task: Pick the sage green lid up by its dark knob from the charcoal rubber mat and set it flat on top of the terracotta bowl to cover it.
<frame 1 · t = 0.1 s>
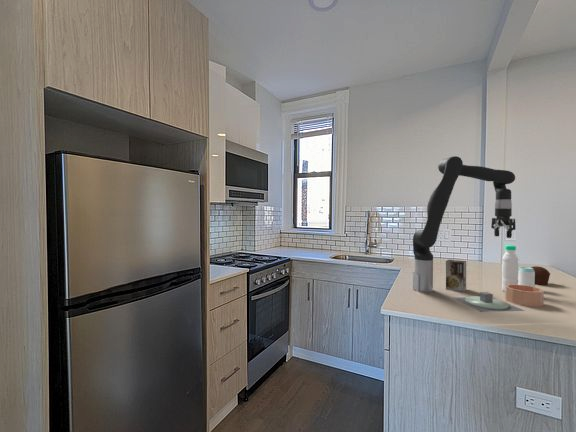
hand: (502, 237, 164), 29 cm above the worktop, tool pointing down, fingers open, 8 cm apart
mat: (486, 304, 138), on the worktop
water bottle: (509, 291, 160), on the worktop
bowl: (523, 302, 141), on the worktop
muffin: (537, 283, 178), on the worktop
lid: (486, 303, 138), resting on mat
coffee box: (455, 290, 164), on the worktop
can: (526, 289, 165), on the worktop
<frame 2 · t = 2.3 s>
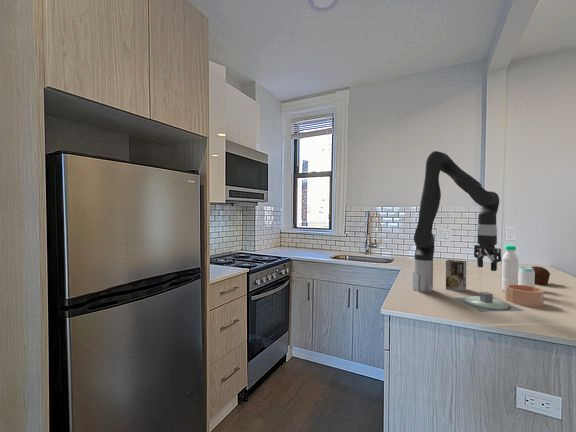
hand: (486, 268, 138), 17 cm above the worktop, tool pointing down, fingers open, 8 cm apart
nothing on the worktop moved.
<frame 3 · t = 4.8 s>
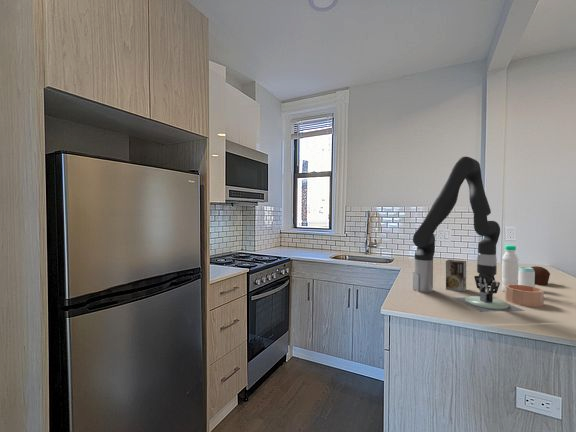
hand: (486, 300, 138), 2 cm above the worktop, tool pointing down, fingers closed on lid, 3 cm apart
lid: (486, 303, 138), resting on mat, touching gripper
everything else where it was.
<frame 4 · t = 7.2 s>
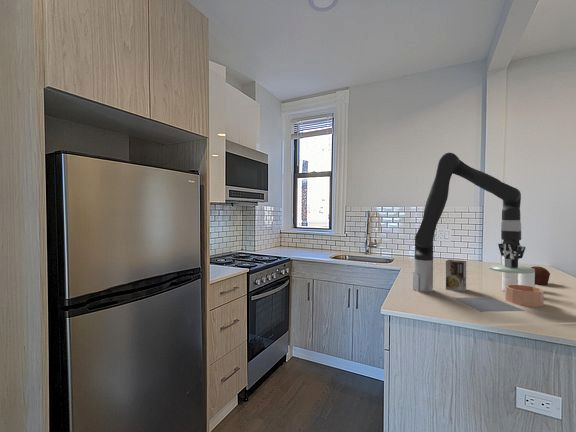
hand: (511, 266, 139), 18 cm above the worktop, tool pointing down, fingers closed on lid, 3 cm apart
lid: (511, 269, 139), point 16 cm above the worktop, touching gripper
everything else where it was.
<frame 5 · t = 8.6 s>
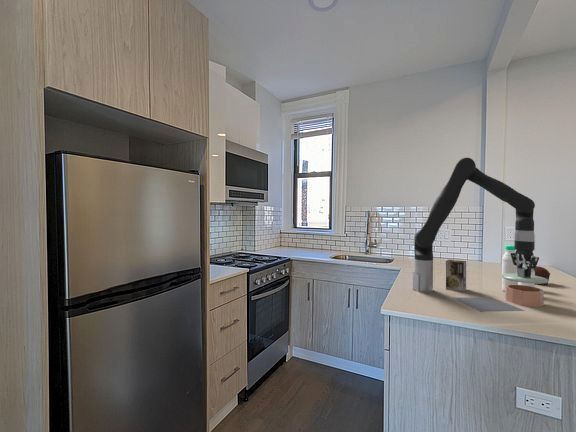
hand: (523, 275, 141), 13 cm above the worktop, tool pointing down, fingers closed on lid, 3 cm apart
lid: (523, 279, 141), point 11 cm above the worktop, touching gripper
everything else where it was.
when the fingers open (10 cm above the worktop, at t = 9.9 s): lid stays where it is, resting on bowl.
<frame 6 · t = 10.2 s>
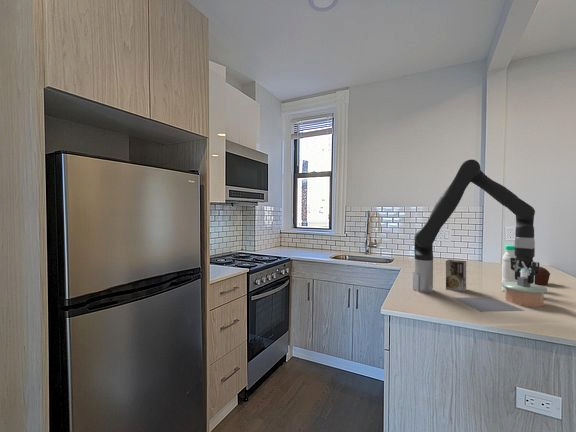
hand: (523, 281, 141), 10 cm above the worktop, tool pointing down, fingers open, 6 cm apart
lid: (523, 288, 141), point 7 cm above the worktop, touching bowl
everything else where it was.
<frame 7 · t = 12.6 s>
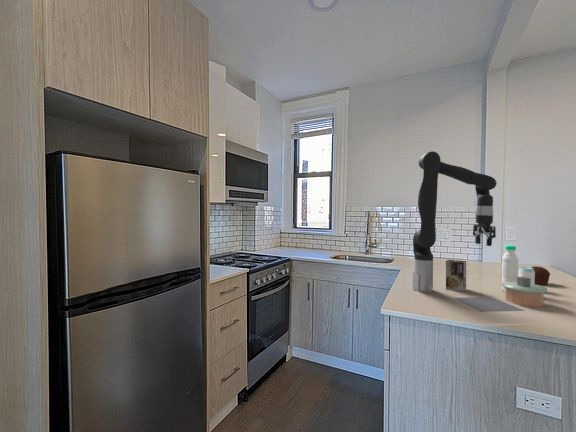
hand: (483, 244, 158), 26 cm above the worktop, tool pointing down, fingers open, 8 cm apart
nothing on the worktop moved.
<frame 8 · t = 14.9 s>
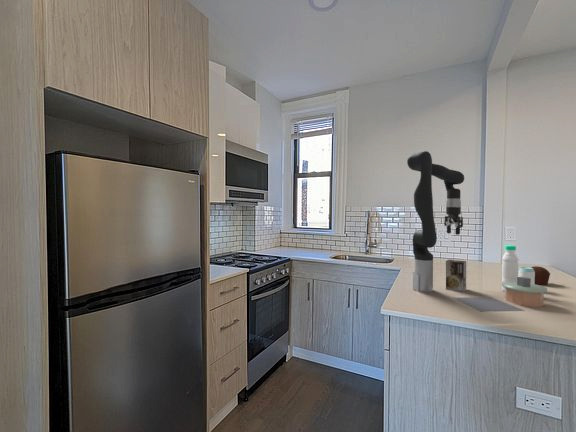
hand: (453, 233, 175), 30 cm above the worktop, tool pointing down, fingers open, 8 cm apart
nothing on the worktop moved.
at the end: lid 0.1 cm off-centre on the bowl, point 7.0 cm above the bowl's base; lid tilted 0°; the gripper is holding nothing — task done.
